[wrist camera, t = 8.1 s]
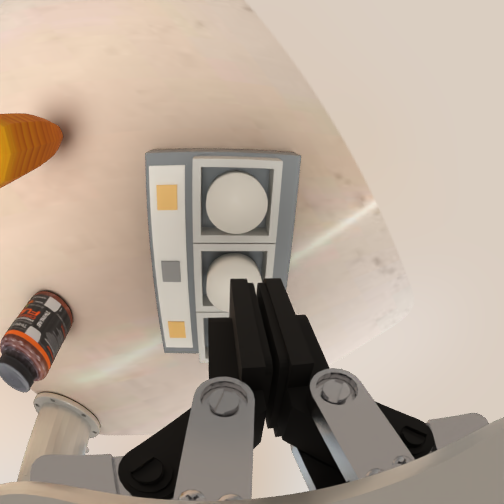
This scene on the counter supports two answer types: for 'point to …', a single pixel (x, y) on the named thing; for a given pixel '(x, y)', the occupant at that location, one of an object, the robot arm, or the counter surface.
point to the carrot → (25, 144)
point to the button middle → (229, 277)
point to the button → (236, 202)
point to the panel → (210, 233)
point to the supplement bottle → (34, 340)
